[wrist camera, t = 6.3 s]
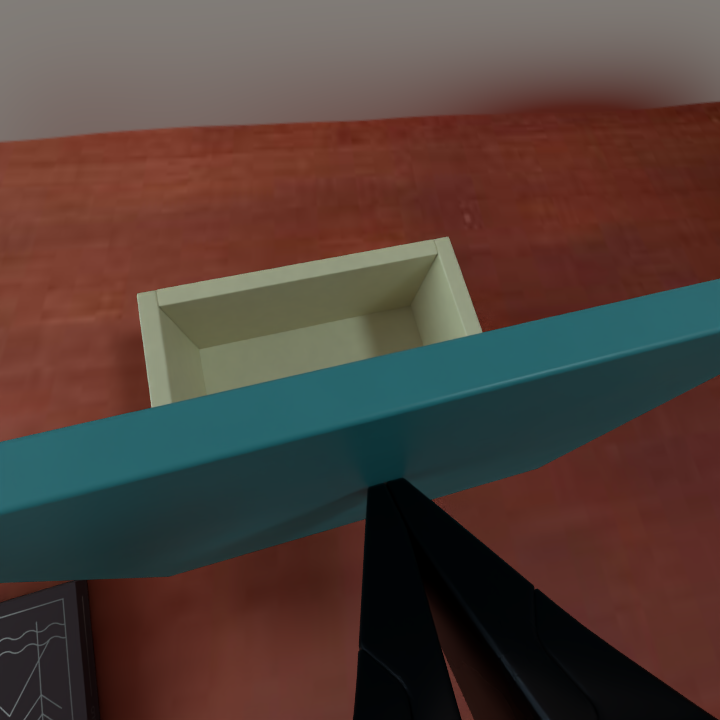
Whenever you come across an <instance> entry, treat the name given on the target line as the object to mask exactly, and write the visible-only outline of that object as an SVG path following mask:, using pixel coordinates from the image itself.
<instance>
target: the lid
mask: <svg viewBox="0 0 720 720" xmlns="http://www.w3.org/2000/svg"><path fill="white" fill-rule="evenodd" d="M719 374H720V279H716V280H712V281H707V282H703V283H699V284H694V285H690V286H685V287H681V288H677V289H672V290H668V291H663V292H659V293H655V294H650V295H646V296H641V297H637V298H633V299H628V300H624V301H619V302H615V303H611V304H606V305H602V306H597V307H593V308H589V309H584V310H580V311H575V312H571V313H566V314H562V315H558V316H553V317H549V318H544V319H540V320H536V321H531V322H527V323H522V324H518V325H514V326H509V327H505V328H500V329H496V330H492V331H487V332H483V333H478V334H474V335H470V336H465V337H461V338H456V339H452V340H448V341H443V342H439V343H434V344H430V345H426V346H421V347H417V348H412V349H408V350H404V351H399V352H395V353H390V354H386V355H381V356H377V357H373V358H368V359H364V360H359V361H355V362H351V363H346V364H342V365H337V366H333V367H329V368H324V369H320V370H315V371H311V372H307V373H302V374H298V375H293V376H289V377H285V378H280V379H276V380H271V381H267V382H263V383H258V384H254V385H249V386H245V387H241V388H236V389H232V390H227V391H223V392H218V393H214V394H210V395H205V396H201V397H196V398H192V399H188V400H183V401H179V402H174V403H170V404H166V405H161V406H157V407H152V408H148V409H144V410H139V411H135V412H130V413H126V414H122V415H117V416H113V417H108V418H104V419H100V420H95V421H91V422H86V423H82V424H78V425H73V426H69V427H64V428H60V429H55V430H51V431H47V432H42V433H38V434H33V435H29V436H25V437H20V438H16V439H11V440H7V441H3V442H0V583H9V582H37V581H64V580H91V579H118V578H145V577H169V576H173V575H176V574H179V573H183V572H186V571H190V570H193V569H197V568H200V567H203V566H207V565H210V564H214V563H217V562H220V561H224V560H227V559H231V558H234V557H237V556H241V555H244V554H248V553H251V552H254V551H258V550H261V549H265V548H268V547H271V546H275V545H278V544H282V543H285V542H289V541H292V540H295V539H299V538H302V537H306V536H309V535H312V534H316V533H319V532H323V531H326V530H329V529H333V528H336V527H340V526H343V525H346V524H350V523H353V522H357V521H360V520H363V519H366V506H367V490H368V487H370V486H373V485H377V484H380V483H385V484H386V483H387V482H388V481H391V480H395V479H398V478H405V479H406V480H407V481H409V482H410V483H411V484H412V485H413V486H415V487H416V488H417V489H418V490H419V491H421V492H422V493H423V494H424V495H426V496H427V497H428V498H429V499H430V500H432V499H435V498H438V497H442V496H445V495H449V494H452V493H456V492H459V491H462V490H466V489H469V488H473V487H476V486H479V485H483V484H486V483H490V482H493V481H496V480H500V479H503V478H507V477H510V476H513V475H517V474H520V473H524V472H527V471H530V470H534V469H537V468H539V467H541V466H543V465H545V464H547V463H549V462H551V461H553V460H555V459H557V458H559V457H561V456H563V455H565V454H566V453H568V452H570V451H572V450H574V449H576V448H578V447H580V446H582V445H584V444H586V443H588V442H590V441H592V440H594V439H595V438H597V437H599V436H601V435H603V434H605V433H607V432H609V431H611V430H613V429H615V428H617V427H619V426H621V425H623V424H624V423H626V422H628V421H630V420H632V419H634V418H636V417H638V416H640V415H642V414H644V413H646V412H648V411H650V410H652V409H653V408H655V407H657V406H659V405H661V404H663V403H665V402H667V401H669V400H671V399H673V398H675V397H677V396H679V395H681V394H682V393H684V392H686V391H688V390H690V389H692V388H694V387H696V386H698V385H700V384H702V383H704V382H706V381H708V380H710V379H711V378H713V377H715V376H717V375H719Z"/></svg>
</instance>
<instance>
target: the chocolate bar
mask: <svg viewBox="0 0 720 720" xmlns="http://www.w3.org/2000/svg"><path fill="white" fill-rule="evenodd" d="M0 720H100V715H99V704H98V694H97V683H96V673H95V662H94V652H93V641H92V631H91V620H90V610H89V599H88V589H87V580H74V581H70V582H67V583H64V584H60V585H57V586H53V587H50V588H47V589H43V590H40V591H37V592H33V593H30V594H27V595H23V596H20V597H16V598H13V599H10V600H6V601H3V602H0Z"/></svg>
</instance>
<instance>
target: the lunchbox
mask: <svg viewBox="0 0 720 720" xmlns="http://www.w3.org/2000/svg"><path fill="white" fill-rule="evenodd" d="M137 301H138V308H139V316H140V323H141V331H142V338H143V346H144V354H145V361H146V369H147V376H148V384H149V392H150V399H151V407H157V406H161V405H166V404H170V403H174V402H179V401H183V400H188V399H192V398H196V397H201V396H205V395H210V394H214V393H218V392H223V391H227V390H232V389H236V388H241V387H245V386H249V385H254V384H258V383H263V382H267V381H271V380H276V379H280V378H285V377H289V376H293V375H298V374H302V373H307V372H311V371H315V370H320V369H324V368H329V367H333V366H337V365H342V364H346V363H351V362H355V361H359V360H364V359H368V358H373V357H377V356H381V355H386V354H390V353H395V352H399V351H404V350H408V349H412V348H417V347H421V346H426V345H430V344H434V343H439V342H443V341H448V340H452V339H456V338H461V337H465V336H470V335H474V334H478V333H483V332H482V329H481V327H480V324H479V321H478V318H477V315H476V313H475V310H474V307H473V304H472V301H471V298H470V296H469V293H468V290H467V287H466V284H465V282H464V279H463V276H462V273H461V270H460V267H459V265H458V262H457V259H456V256H455V253H454V251H453V248H452V245H451V242H450V239H449V237H444V238H439V239H434V240H427V241H422V242H416V243H411V244H405V245H400V246H394V247H389V248H383V249H378V250H372V251H367V252H361V253H356V254H350V255H345V256H339V257H334V258H328V259H323V260H317V261H312V262H306V263H301V264H295V265H290V266H284V267H279V268H273V269H268V270H263V271H257V272H252V273H246V274H241V275H235V276H230V277H224V278H219V279H213V280H208V281H202V282H197V283H191V284H186V285H180V286H175V287H169V288H164V289H158V290H157V291H149V292H143V293H138V294H137Z"/></svg>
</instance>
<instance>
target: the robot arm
mask: <svg viewBox="0 0 720 720" xmlns="http://www.w3.org/2000/svg"><path fill="white" fill-rule="evenodd" d="M441 648H442V649H441ZM442 650H443V652H444V654H445V656H446V659H447V661H448V663H449V665H450V667H451V670H452V672H453V674H454V676H455V678H456V681H457V683H458V685H459V687H460V689H461V692H462V694H463V696H464V698H465V700H466V703H467V705H468V707H469V709H470V711H471V714H472V716H473V718H474V720H718V719H717V718H715V717H713V716H712V715H710V714H709V713H707V712H706V711H704V710H703V709H702V708H700V707H699V706H697V705H696V704H694V703H693V702H691V701H690V700H688V699H687V698H686V697H684V696H683V695H681V694H680V693H678V692H677V691H675V690H674V689H673V688H671V687H670V686H668V685H667V684H665V683H664V682H663V681H661V680H660V679H658V678H657V677H655V676H654V675H652V674H651V673H650V672H648V671H647V670H645V669H644V668H642V667H641V666H639V665H638V664H637V663H635V662H634V661H632V660H631V659H629V658H628V657H627V656H625V655H624V654H622V653H621V652H619V651H618V650H616V649H615V648H614V647H612V646H611V645H609V644H608V643H607V642H605V641H604V640H603V639H601V638H600V637H598V636H597V635H596V634H594V633H593V632H591V631H590V630H589V629H587V628H586V627H585V626H583V625H582V624H581V623H579V622H578V621H577V620H576V619H574V618H573V617H572V616H571V615H569V614H568V613H567V612H566V611H564V610H563V609H562V608H560V607H559V606H558V605H557V604H555V603H554V602H553V601H552V600H551V599H549V598H548V597H547V596H546V595H545V594H544V593H542V592H541V591H540V590H539V589H535V590H534V586H533V585H532V584H531V583H530V582H529V581H528V580H526V579H525V578H524V577H523V576H522V575H520V574H519V573H518V572H517V571H516V570H514V569H513V568H512V567H511V566H510V565H508V564H507V563H506V562H505V561H504V560H502V559H501V558H500V557H499V556H498V555H496V554H495V553H494V552H493V551H492V550H490V549H489V548H488V547H487V546H486V545H484V544H483V543H482V542H481V541H480V540H478V539H477V538H476V537H475V536H474V535H472V534H471V533H470V532H469V531H468V530H466V529H465V528H464V527H463V526H462V525H460V524H459V523H458V522H457V521H456V520H454V519H453V518H452V517H451V516H450V515H448V514H447V513H446V512H445V511H444V510H442V509H441V508H440V507H439V506H438V505H436V504H435V503H434V502H433V501H432V500H430V499H429V498H428V497H427V496H426V495H424V494H423V493H422V492H421V491H419V490H418V489H417V488H416V487H415V486H413V485H412V484H411V483H410V482H409V481H407V480H406V479H405V478H398V479H395V480H391V481H388V482H387V483H386V484H385V483H380V484H377V485H373V486H370V487H368V490H367V506H366V524H365V542H364V560H363V579H362V597H361V615H360V633H359V652H358V665H357V681H356V693H355V705H354V715H353V720H462V719H461V716H460V712H459V709H458V705H457V702H456V698H455V695H454V691H453V688H452V684H451V681H450V677H449V673H448V670H447V666H446V663H445V659H444V656H443V652H442Z"/></svg>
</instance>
